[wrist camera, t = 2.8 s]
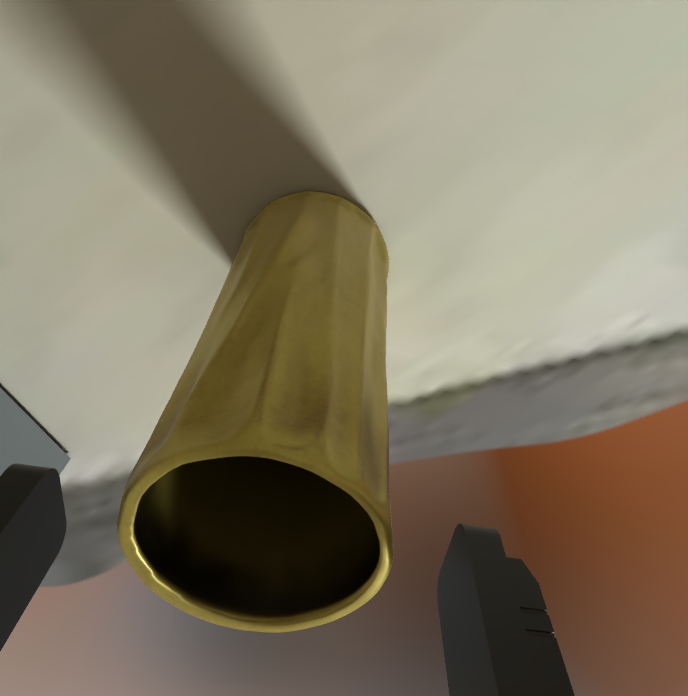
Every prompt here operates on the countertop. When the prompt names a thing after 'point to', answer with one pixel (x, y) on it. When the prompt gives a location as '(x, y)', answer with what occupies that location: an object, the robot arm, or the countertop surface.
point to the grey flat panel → (25, 440)
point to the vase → (276, 434)
